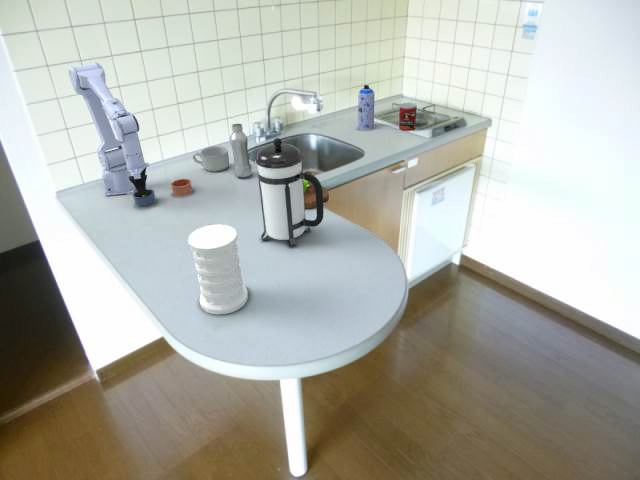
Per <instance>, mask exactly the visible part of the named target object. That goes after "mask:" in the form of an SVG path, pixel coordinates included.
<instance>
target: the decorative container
mask: <svg viewBox="0 0 640 480" xmlns="http://www.w3.org/2000/svg"><path fill="white" fill-rule="evenodd" d="M238 240H239V239H238V232H237V230H236V228H234V227H233V226H231V225H227V224H217V223H215V224H209V225H205V226H202V227H199V228H197V229H195V230H193V231H192V233H190V234H189V236H188V238H187V242H188V247H189V248H190V250H192V258H193V259H194V261H195V266H194V267H195V270H196V272H197V280H198V282H199V284H200V285H199V290H200V295H199V304H200V307H201V309H202V310H203V311H204V312H206V313H208V314H212V315H227V314H231V313H234V312H236V311H238V310H240V309H241V308H242V307H244V306H245V304H246V303H247V301H248V299H249V294H248V293H249V292H248V289H247V287H246V286H245V285H244V281H243V277H242V269H241V266H240V256H239V255H238V251H239V250H238V249H239V248H238V245H237V242H238Z"/></svg>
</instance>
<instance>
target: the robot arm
mask: <svg viewBox="0 0 640 480" xmlns="http://www.w3.org/2000/svg"><path fill="white" fill-rule="evenodd" d="M68 77H69V80H70V82H71V85H72V88H73V90H74V91H75V94H76V95H80V96H82V98H83V100H84V102H85V104H86V107H87V110H88V111H89V114H90V117H91V119H92V121H93V124H94V126H95V128H96V131H97V134H98V137H99V139H100V142H101V143H100V145H99V146H98V148H97V149H96V153H97V156H98V160H99V164H100V165H101V167H102V168H103V169H102V170H101V178H102V182H103V185H104V188H105V191H106V196H109V197H110V196H117V195H126V194H131V193H135V190H136V192H138V193H139V195H140V196H141V195H146V189H147V179H148V174H146V173H147V172H146V171H147V167H150V163H149V162H146V161H145V157H144V153H143V149H142V145H141V142H140V137H139V132H140V123H139V122H138V121H139V120H138V119H137V117H136V116H135V114H134V113H131V112H130V111H128V110H127V108H126V107H125V106H124V105H123V103H122V102H121V100H120V99H119V98H118V97H114V96H113V93H111V90H110V89H109V87H108V85H107V83H106V73H105V69H104V67H103V66H102V65H101V63H99V62H94V63H90V64H83V65H77V66H70V67H69V68H68ZM110 121H111V122H112V125H111V122H110ZM114 132H115V133H114ZM115 134H116V135H115ZM116 137H117V138H116Z"/></svg>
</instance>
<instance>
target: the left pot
mask: <svg viewBox="0 0 640 480" xmlns="http://www.w3.org/2000/svg"><path fill="white" fill-rule="evenodd" d="M132 198H133V201H134V206H136V207H137V208H148V207H151V206H153V205H155V204H156V203H157V201H158V200H157V197H156V192H155V190H154V189H150V188H146V197H143V196H142V195H141V196H140V195H139V193H138V192H137V191H134V192H133V194H132Z"/></svg>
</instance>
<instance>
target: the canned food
mask: <svg viewBox="0 0 640 480" xmlns="http://www.w3.org/2000/svg"><path fill="white" fill-rule="evenodd" d="M417 107H418V105H417V104H416V103H414V102H404V103H403V102H402V103H400V104H399V114H398V115H399V116H398V117H399V119H398V128H399V130H401V131H404V132H405V131H406V132H410V131H414V130H415V128H416V123H417V121H416V120H417V109H418V108H417Z"/></svg>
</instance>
